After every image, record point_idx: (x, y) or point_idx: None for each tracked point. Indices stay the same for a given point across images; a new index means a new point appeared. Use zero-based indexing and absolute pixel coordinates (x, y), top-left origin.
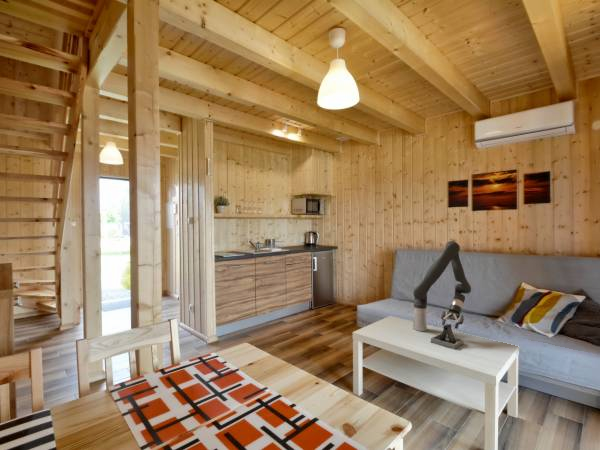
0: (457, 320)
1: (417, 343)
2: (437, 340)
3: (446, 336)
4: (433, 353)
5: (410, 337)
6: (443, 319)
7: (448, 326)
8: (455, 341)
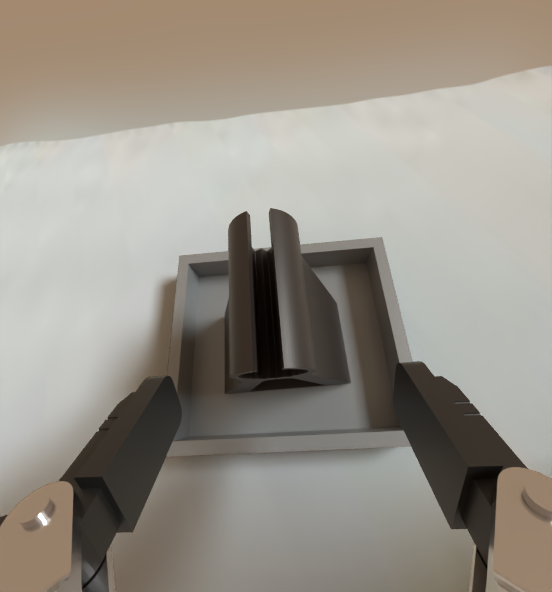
0: (13, 573)
1: (411, 180)
2: (320, 244)
3: (340, 431)
4: (257, 140)
5: (539, 229)
6: (523, 485)
7: (231, 257)
8: (225, 384)
